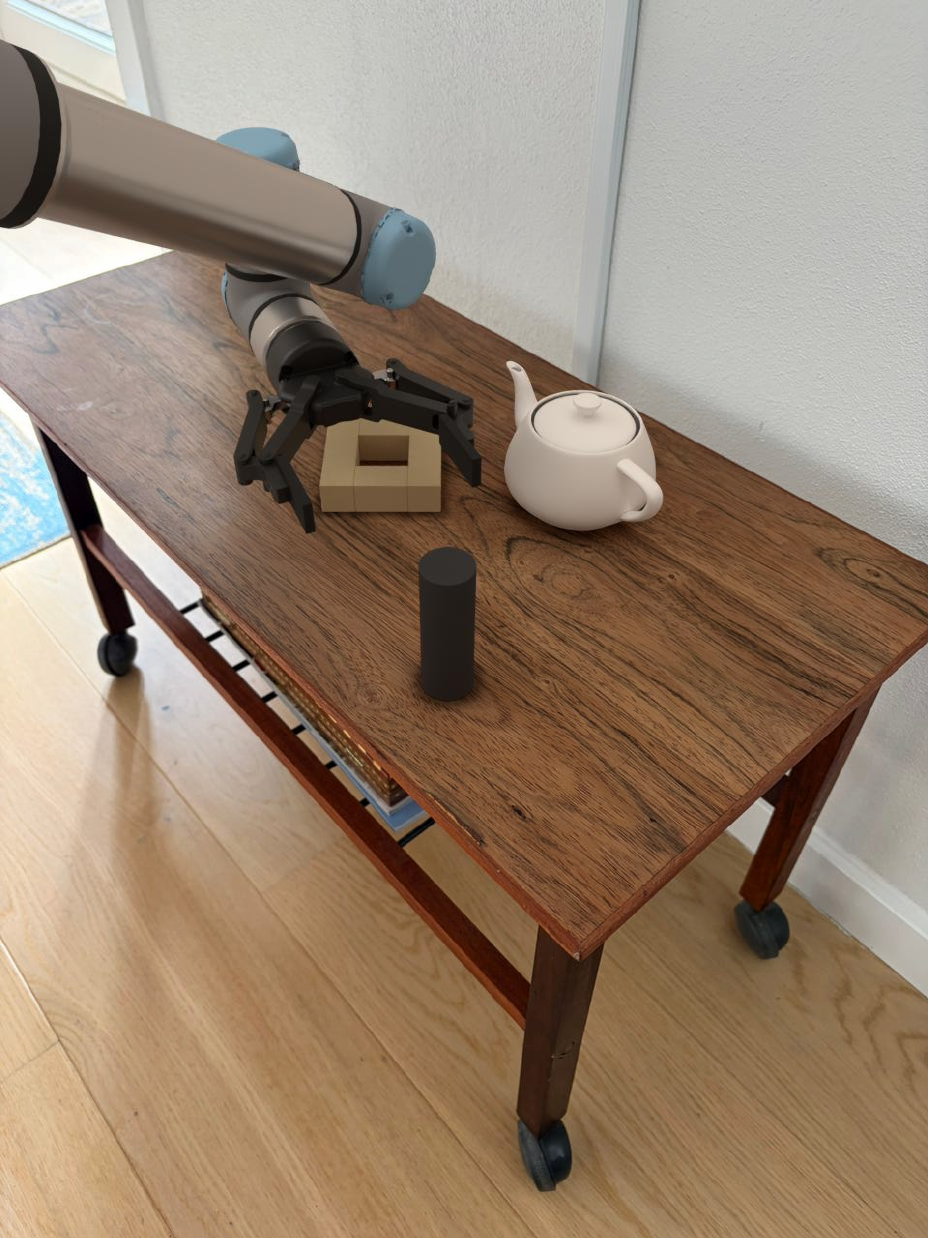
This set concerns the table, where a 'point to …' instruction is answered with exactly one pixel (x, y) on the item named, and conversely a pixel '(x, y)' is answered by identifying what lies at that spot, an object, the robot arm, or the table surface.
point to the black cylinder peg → (447, 622)
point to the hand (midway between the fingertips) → (395, 495)
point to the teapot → (580, 458)
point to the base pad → (380, 468)
